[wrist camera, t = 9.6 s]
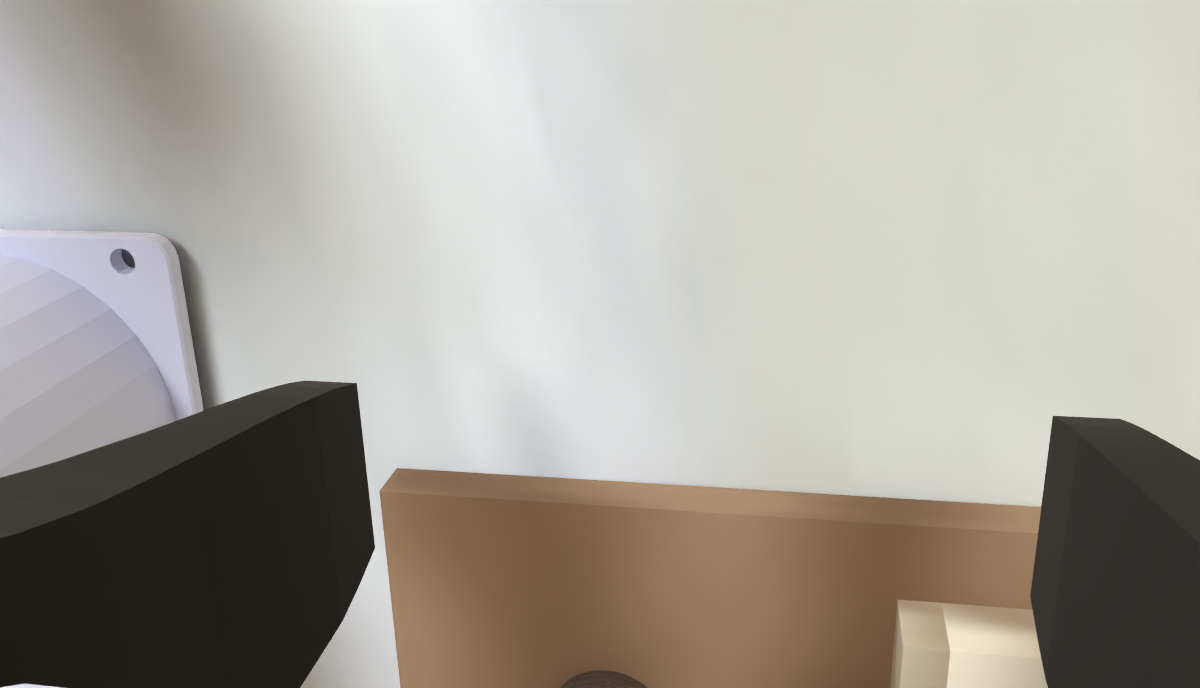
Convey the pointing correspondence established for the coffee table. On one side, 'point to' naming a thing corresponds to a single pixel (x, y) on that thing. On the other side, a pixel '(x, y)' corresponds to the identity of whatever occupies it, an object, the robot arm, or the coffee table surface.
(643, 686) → the brushed metal cylinder
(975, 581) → the brown board
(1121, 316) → the coffee table surface
